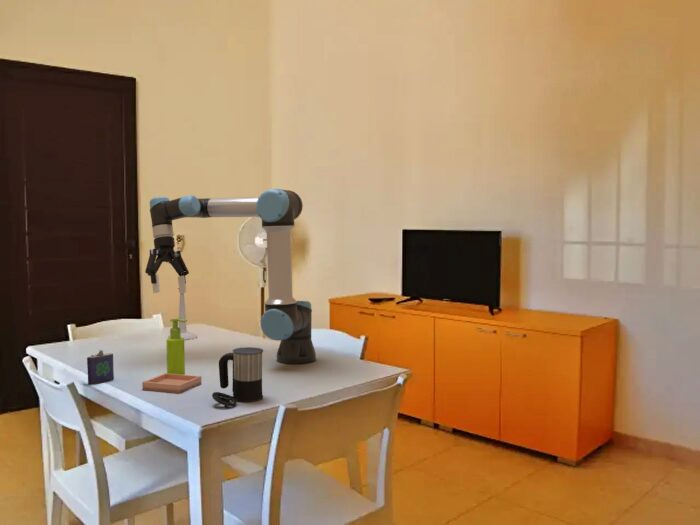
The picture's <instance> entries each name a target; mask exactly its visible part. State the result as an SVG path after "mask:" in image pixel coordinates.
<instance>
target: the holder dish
mask: <svg viewBox="0 0 700 525" xmlns="http://www.w3.org/2000/svg"><path fill="white" fill-rule="evenodd" d="M199 385H200V386H201V385H202V376H201V375H190V374H185V375H181V374H170V373H167V372H165V373H163V374H160V375H157V376H155V377H153V378H150V379H147V380H144V381H142V390H143V391H150V392H160V393H168V394H169V393H170V394H182V393H184V392H186V391H189V390H191V389H193V388H195V386H196V387H198V386H199Z"/></svg>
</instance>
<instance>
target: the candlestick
mask: <svg viewBox="0 0 700 525" xmlns="http://www.w3.org/2000/svg"><path fill="white" fill-rule="evenodd" d="M177 289H178V292H179V304H178V305H179V307H178V308H179V310H178V319H185V320H187V319H186V316H187V315H186V303H185V300H186V299H185V293H180V291H179V287H178V288H177ZM178 328H180V334H181V338H184V341H191V340H190V339H192V340H195V339H194V338H196V339H198V334H195V333H193V332H190V331H188V330H187V321H186V322H181V321H178ZM168 338H170V335H168V337H167V339H168Z"/></svg>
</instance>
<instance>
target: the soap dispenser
mask: <svg viewBox="0 0 700 525" xmlns="http://www.w3.org/2000/svg"><path fill="white" fill-rule="evenodd" d="M179 321H181V322H186V323H187V321H188V320H187V319H186V320H185V319H179V318H171V319H170V320H169V322H172V327H171V328H170V329H169V332H170V333H169V336H170V338H168V337H167V338H166V373H170V374H181V375H186V368H185V367H186V366H185V364H186V362H185V352H186V350H185V340H184V338H181V334H180V328H179Z"/></svg>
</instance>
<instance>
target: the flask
mask: <svg viewBox="0 0 700 525" xmlns="http://www.w3.org/2000/svg"><path fill="white" fill-rule="evenodd" d="M98 351H99V352H98V353H97V354H94V355H93V354H91V355H90V356H87V357H86V361H87V362H86V365H87V385H89V386H90V385H97V384H102V383H107V382H110V381H113V379H115V374H114V353H112V352H108V353H104V350H102V349H99V350H98Z"/></svg>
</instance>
